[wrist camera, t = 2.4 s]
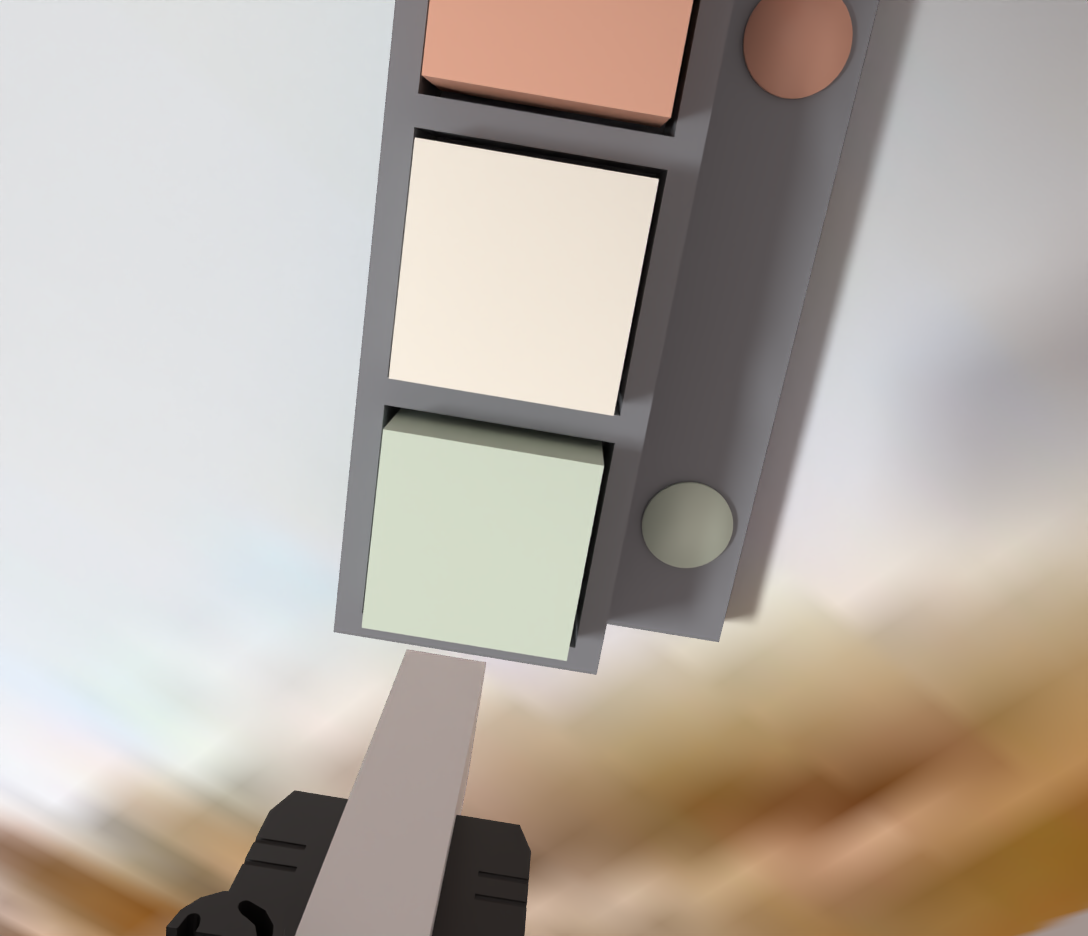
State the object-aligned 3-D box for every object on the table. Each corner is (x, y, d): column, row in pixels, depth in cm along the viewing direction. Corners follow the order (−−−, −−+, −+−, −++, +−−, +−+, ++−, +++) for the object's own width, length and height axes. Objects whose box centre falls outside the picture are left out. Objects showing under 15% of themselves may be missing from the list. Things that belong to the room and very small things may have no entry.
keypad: (371, 565, 31) (333, 631, 26) (451, -171, 24) (421, -261, 20) (712, 621, 31) (736, 697, 27) (888, -95, 25) (962, -166, 20)
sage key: (383, 583, 28) (361, 627, 25) (404, 403, 26) (383, 429, 23) (567, 613, 28) (566, 661, 25) (601, 436, 26) (604, 465, 23)
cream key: (409, 358, 25) (388, 378, 23) (434, 145, 24) (414, 137, 21) (609, 391, 26) (613, 416, 23) (649, 181, 24) (658, 178, 21)
